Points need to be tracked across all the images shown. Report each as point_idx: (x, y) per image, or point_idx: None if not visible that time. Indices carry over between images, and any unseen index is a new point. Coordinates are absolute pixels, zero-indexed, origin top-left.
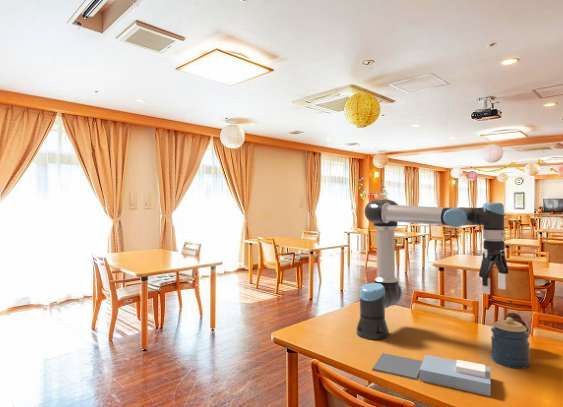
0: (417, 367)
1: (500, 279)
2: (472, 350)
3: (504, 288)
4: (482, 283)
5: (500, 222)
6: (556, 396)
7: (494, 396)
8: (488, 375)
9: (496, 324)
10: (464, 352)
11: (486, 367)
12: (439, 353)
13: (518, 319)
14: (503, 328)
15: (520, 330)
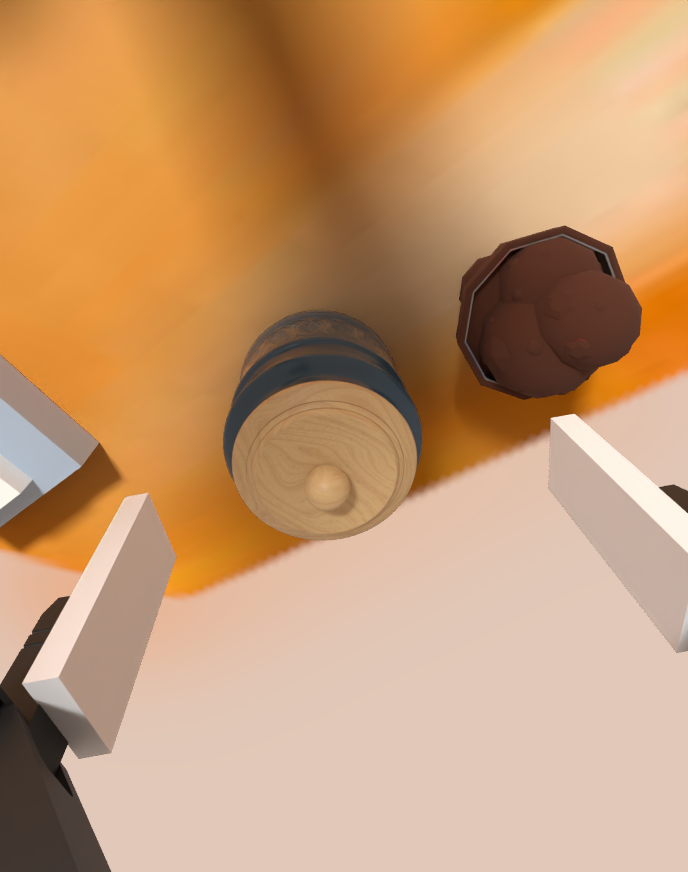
0: None
1: (619, 520)
2: (266, 204)
3: (552, 491)
4: (76, 591)
5: None
6: (212, 584)
7: (9, 525)
8: (13, 509)
9: (253, 434)
10: (199, 202)
11: (61, 463)
12: (35, 137)
13: (556, 378)
14: (238, 486)
15: (302, 537)
